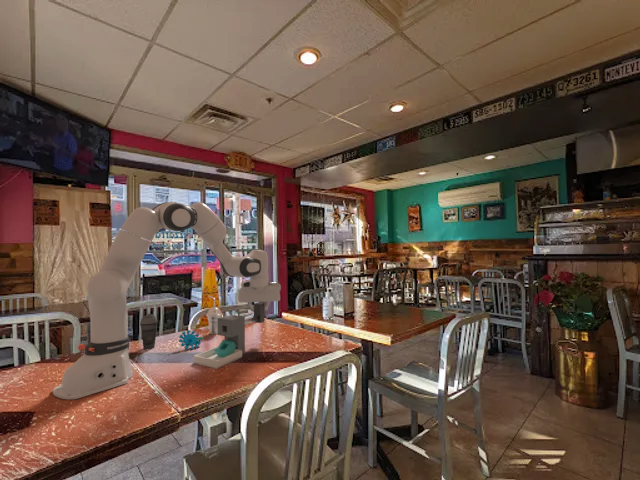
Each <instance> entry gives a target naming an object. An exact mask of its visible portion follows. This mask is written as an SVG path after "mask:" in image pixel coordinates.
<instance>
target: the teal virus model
mask: <svg viewBox="0 0 640 480" xmlns="http://www.w3.org/2000/svg"><path fill="white" fill-rule="evenodd" d="M195 333H196V332H195V330H192V331H191V330H189V329H188V330H187V331H182V332H181V334H180V335H179V337H178V338H179V340H178V343H181V344H180V347H184V346H185V347H184V349H185V350H188V349H189V348H190V349H189V350H192V351H193V350H194V349H198V348H199V345H201V344H202V342H201V341H203V339H204V337H203V336H200V335H199V334H200V333H196V334H195ZM199 336H200V337H199Z"/></svg>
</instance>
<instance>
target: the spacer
mask: <svg viewBox="0 0 640 480" xmlns="http://www.w3.org/2000/svg"><path fill="white" fill-rule="evenodd" d="M216 347H217V349H216V350H215V352H216V354H217V355H218V356H222V357H226V356H228V355H231V354H232V352H233V351H234V349H235V348H236V344H235V343H234V341H228V340H225V339H222V340H221V342H220V343H219V345H218V346H216Z"/></svg>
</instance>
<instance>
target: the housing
mask: <svg viewBox="0 0 640 480" xmlns="http://www.w3.org/2000/svg"><path fill="white" fill-rule="evenodd" d="M245 320H246V319H245V316H242V315H235V314H229V315H226V316H221V318H218V334H217V336H221V337H224V340H228V341H234V343H235V344H236V348H235V349H238V350H242V355H244V354H246V336H245V335H246V329H245V328H246V327H245V326H246V325H245Z"/></svg>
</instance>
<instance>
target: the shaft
mask: <svg viewBox="0 0 640 480" xmlns="http://www.w3.org/2000/svg"><path fill="white" fill-rule="evenodd" d="M253 307H254V311H253V317H251V318H248V319H247V318H246V319H245V326H246V325H248V324H251V323H256V324H257V323H258V324H262V323H265V302H253Z"/></svg>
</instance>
